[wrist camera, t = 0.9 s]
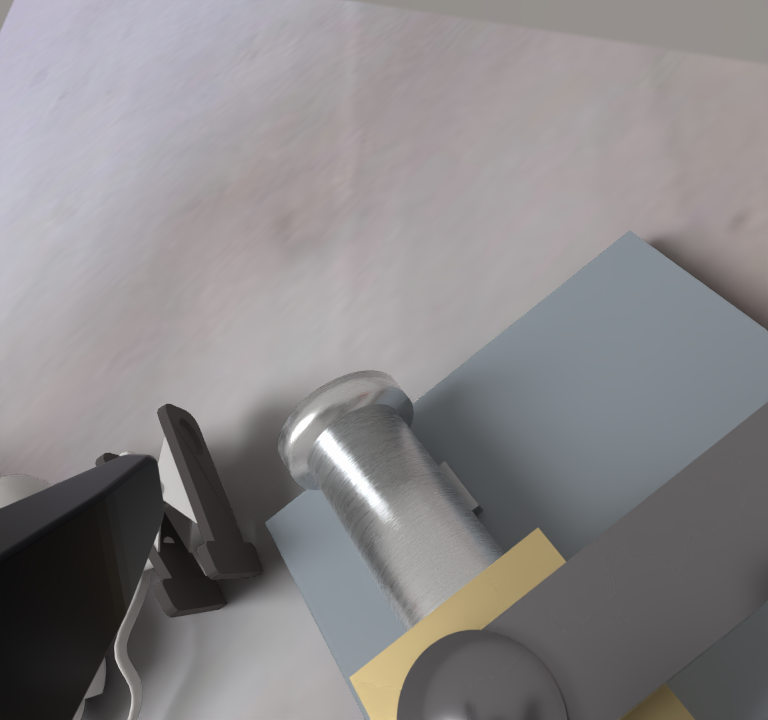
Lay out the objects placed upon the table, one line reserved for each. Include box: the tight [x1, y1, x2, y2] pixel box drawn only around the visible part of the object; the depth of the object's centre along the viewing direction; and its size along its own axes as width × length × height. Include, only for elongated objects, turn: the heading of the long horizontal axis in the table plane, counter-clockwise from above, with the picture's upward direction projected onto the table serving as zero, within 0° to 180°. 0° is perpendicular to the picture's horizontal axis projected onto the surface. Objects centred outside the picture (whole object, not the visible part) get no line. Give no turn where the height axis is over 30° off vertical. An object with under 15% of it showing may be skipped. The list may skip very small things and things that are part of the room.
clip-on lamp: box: [0, 404, 263, 720], centre depth 23 cm, size 12×6×18 cm
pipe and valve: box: [278, 371, 695, 720], centre depth 16 cm, size 22×6×7 cm, turn 33°
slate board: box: [265, 231, 768, 720], centre depth 19 cm, size 22×18×2 cm
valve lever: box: [397, 402, 768, 720], centre depth 12 cm, size 15×3×2 cm, turn 123°
